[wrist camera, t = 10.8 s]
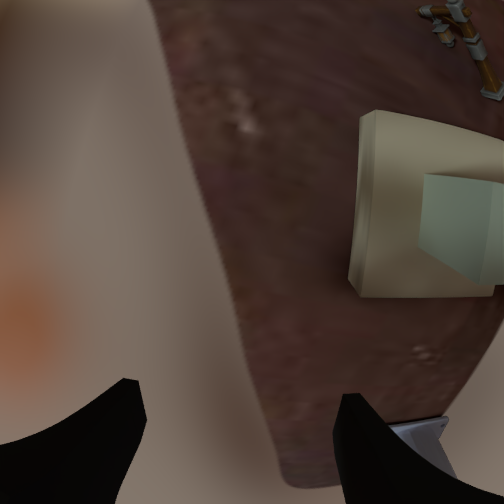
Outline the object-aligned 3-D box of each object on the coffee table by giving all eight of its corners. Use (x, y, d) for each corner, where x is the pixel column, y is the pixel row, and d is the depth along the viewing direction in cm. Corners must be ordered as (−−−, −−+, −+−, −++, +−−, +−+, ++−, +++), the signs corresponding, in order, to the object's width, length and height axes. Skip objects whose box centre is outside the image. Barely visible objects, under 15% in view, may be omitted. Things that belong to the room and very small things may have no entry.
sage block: (471, 249, 15) (535, 283, 10) (417, 247, 16) (478, 285, 10) (478, 182, 14) (548, 195, 9) (424, 173, 15) (493, 181, 9)
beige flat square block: (470, 281, 19) (492, 296, 16) (347, 278, 19) (360, 297, 16) (486, 144, 16) (512, 144, 14) (359, 117, 17) (375, 109, 14)
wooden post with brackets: (415, -7, 13) (464, -12, 9) (466, 77, 17) (510, 87, 14) (403, 4, 14) (453, -1, 10) (456, 89, 18) (502, 101, 14)
